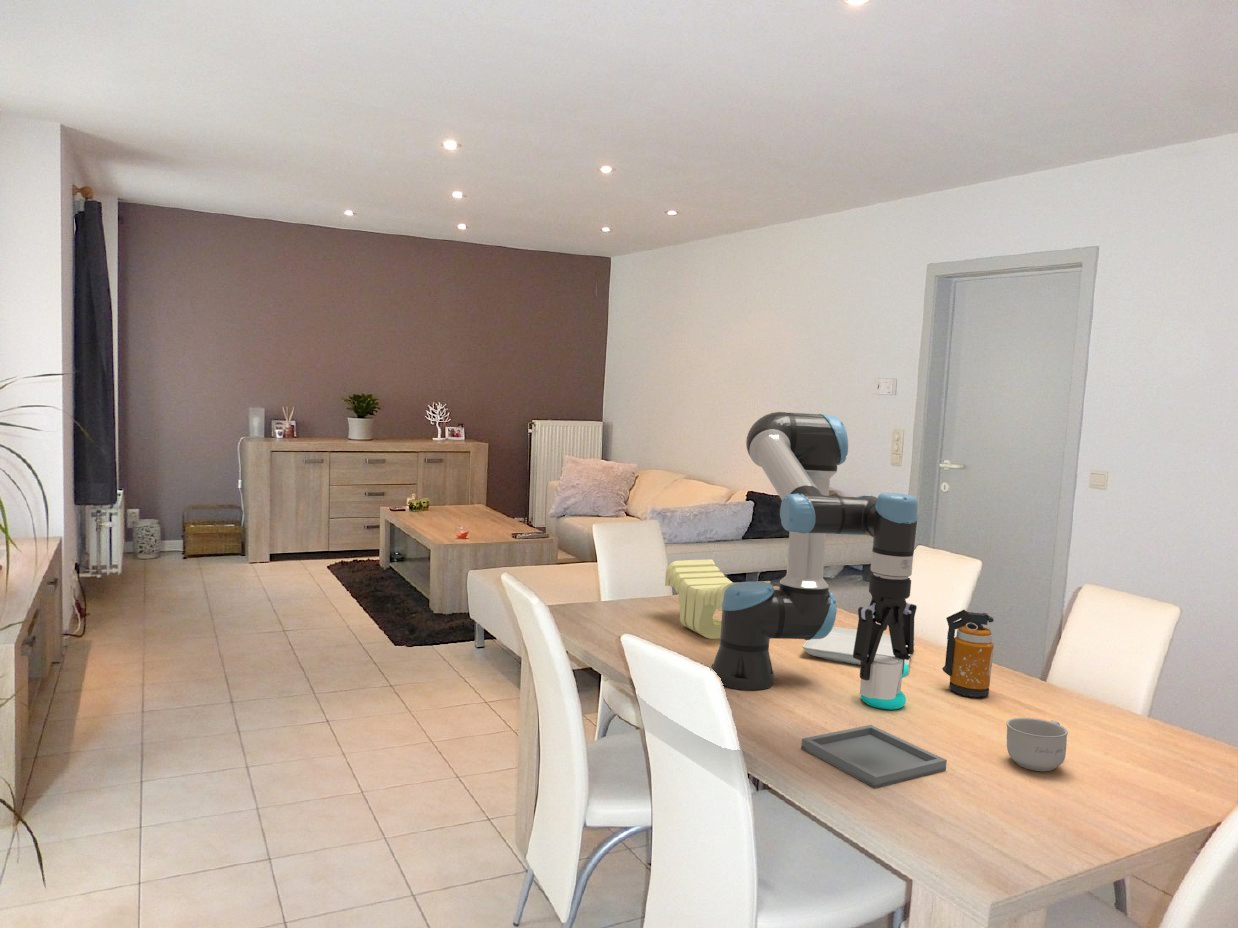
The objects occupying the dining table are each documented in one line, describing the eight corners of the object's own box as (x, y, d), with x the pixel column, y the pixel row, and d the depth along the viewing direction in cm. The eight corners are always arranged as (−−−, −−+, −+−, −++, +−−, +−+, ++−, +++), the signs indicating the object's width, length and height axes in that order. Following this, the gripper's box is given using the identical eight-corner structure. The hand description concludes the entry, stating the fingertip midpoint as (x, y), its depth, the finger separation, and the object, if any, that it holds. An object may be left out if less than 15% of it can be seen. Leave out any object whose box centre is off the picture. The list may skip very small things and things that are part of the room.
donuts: (880, 668, 199) (855, 655, 208) (876, 712, 200) (851, 697, 209) (918, 666, 202) (892, 653, 212) (914, 710, 203) (888, 695, 212)
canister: (992, 701, 213) (1000, 618, 211) (942, 695, 215) (950, 613, 213) (984, 689, 221) (992, 609, 220) (937, 683, 224) (945, 604, 222)
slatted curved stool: (662, 619, 269) (666, 560, 267) (708, 616, 276) (712, 559, 274) (716, 648, 242) (721, 583, 241) (765, 644, 249) (770, 581, 248)
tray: (801, 748, 176) (802, 738, 176) (869, 734, 186) (870, 724, 186) (874, 788, 160) (876, 777, 160) (945, 770, 170) (946, 760, 170)
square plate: (800, 659, 238) (801, 645, 238) (817, 635, 263) (818, 622, 263) (907, 678, 228) (908, 662, 228) (914, 651, 253) (916, 637, 253)
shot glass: (899, 692, 175) (902, 656, 174) (898, 703, 168) (901, 666, 168) (862, 686, 177) (865, 651, 176) (860, 696, 170) (863, 660, 170)
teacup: (1038, 780, 168) (1043, 739, 168) (990, 758, 178) (994, 718, 177) (1086, 770, 175) (1091, 730, 174) (1038, 748, 184) (1042, 710, 184)
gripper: (869, 582, 162) (858, 706, 164) (941, 576, 173) (930, 693, 175) (838, 574, 169) (828, 693, 171) (910, 568, 179) (899, 681, 181)
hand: (880, 693), depth 173 cm, fingers closed on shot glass, 7 cm apart
